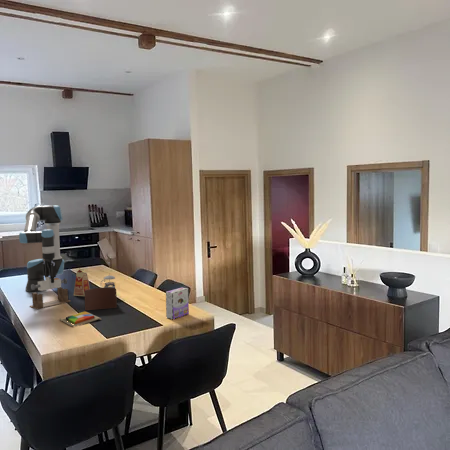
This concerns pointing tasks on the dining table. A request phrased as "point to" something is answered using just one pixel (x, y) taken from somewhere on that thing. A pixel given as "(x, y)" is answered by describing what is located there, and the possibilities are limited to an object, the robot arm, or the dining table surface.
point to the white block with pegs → (48, 284)
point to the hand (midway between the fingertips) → (49, 286)
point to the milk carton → (81, 283)
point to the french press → (110, 277)
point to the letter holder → (100, 298)
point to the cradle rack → (39, 303)
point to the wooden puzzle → (80, 318)
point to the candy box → (177, 303)
